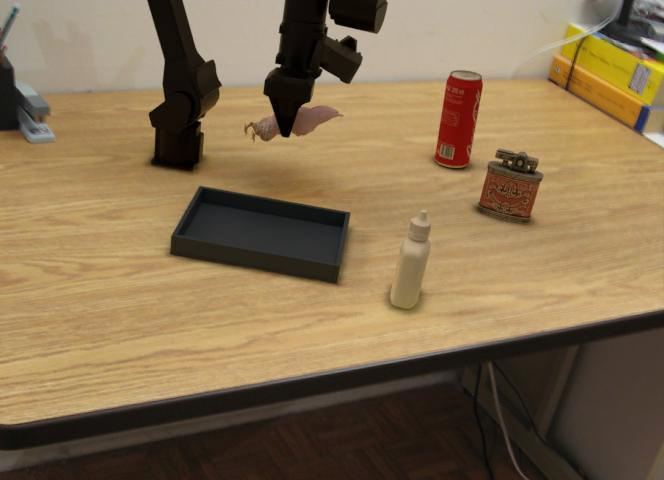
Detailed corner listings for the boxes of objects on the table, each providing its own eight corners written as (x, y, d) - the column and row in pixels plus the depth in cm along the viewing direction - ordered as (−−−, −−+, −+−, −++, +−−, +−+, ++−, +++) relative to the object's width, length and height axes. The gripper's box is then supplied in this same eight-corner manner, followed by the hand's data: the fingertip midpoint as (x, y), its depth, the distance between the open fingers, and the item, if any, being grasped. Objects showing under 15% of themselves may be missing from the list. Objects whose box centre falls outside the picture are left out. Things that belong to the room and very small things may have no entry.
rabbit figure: (258, 157, 120) (351, 132, 126) (256, 117, 117) (352, 94, 122) (239, 139, 125) (330, 116, 130) (237, 100, 121) (330, 78, 127)
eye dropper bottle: (375, 296, 106) (394, 209, 100) (404, 283, 110) (423, 197, 104) (403, 313, 104) (423, 224, 98) (431, 299, 107) (453, 212, 101)
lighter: (530, 216, 131) (549, 155, 126) (528, 226, 128) (547, 163, 123) (478, 203, 133) (494, 142, 128) (474, 212, 130) (490, 150, 125)
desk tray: (170, 253, 109) (171, 235, 108) (198, 202, 122) (199, 185, 121) (336, 284, 108) (340, 266, 106) (347, 228, 121) (350, 212, 119)
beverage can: (467, 172, 143) (489, 84, 135) (428, 165, 143) (448, 76, 135) (468, 159, 148) (490, 72, 140) (430, 151, 148) (449, 65, 140)
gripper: (358, 46, 107) (338, 163, 115) (369, 10, 123) (351, 115, 131) (269, 31, 108) (256, 148, 116) (292, -3, 123) (278, 102, 132)
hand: (289, 127), depth 124 cm, fingers closed on rabbit figure, 7 cm apart
